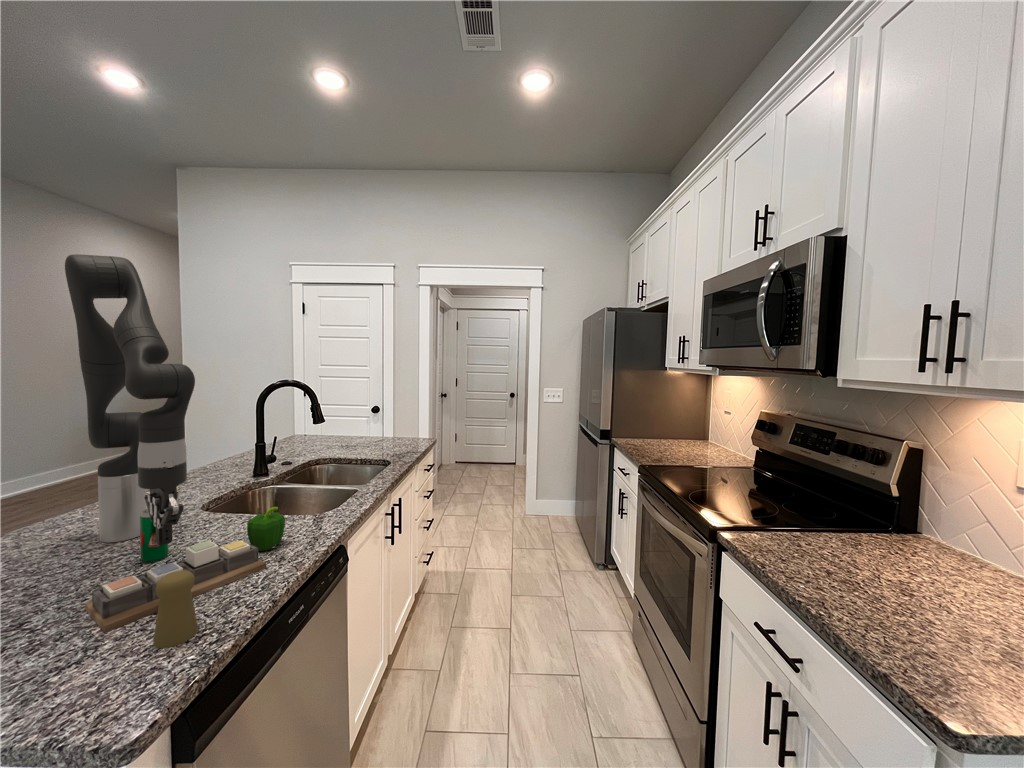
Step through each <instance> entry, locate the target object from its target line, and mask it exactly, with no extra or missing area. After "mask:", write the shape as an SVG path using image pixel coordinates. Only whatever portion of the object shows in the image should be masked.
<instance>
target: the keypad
mask: <svg viewBox="0 0 1024 768" xmlns="http://www.w3.org/2000/svg"><path fill="white" fill-rule="evenodd" d="M242 541H243V542H245V543H247V544H249V545H250V550H248V551H245V552H242V553H239V554H236V555H233V556H231V557H226V556H224V555H223V554H221V553H220V548H219V559H217V560H214V561H211V562H209V563H206V564H203V565H200V566H197V567H193V566H192V565H190V564H189V563H187V562H186V559H184V560H181V561H178V562H175V563H176V564H177V565H179V566H180V567H182V568H183V570H185V571H190V572H191V573H192V574H193V575H194V577H195V582H194V585H193V587H192V589H191V594H192V599H193V598H196V597H198V596H200V595H203V594H205V593H207V592H210V591H212V590H215V589H218V588H220V587H222V586H225V585H227V584H230V583H233V582H235V581H237V580H240V579H243V578H245V577H248V576H251V575H252V574H255V573H257V572H260V571H262V570H265V569H267V563H266V561H263V560H261V559H260V558H259V550H258V548H257V547H255V546H253V545H251V544H250V542H249V543H248V542H247V541H245V540H242ZM135 577H136V578H138V579H139V580H140V581H141V582H142V588H139V589H136V590H134V591H131V592H128V593H125V594H122V595H119V596H117V597H114V598H111V599H107V598H106V597H105V596H104V595H103V586H102V587H99V588H97V589H93V590H92V591H91V595H92V598H91V600H89V601H86V602H85V603H84V610H85V611H86V612H87V614H88V615H89V616H90V617H91V618H92V619H93V621H94V622H95V623H96V624H97V626H98V627H99V628H100V630H102V632H103V633H108V632H110V631H113V630H115V629H117V628H120V627H123V626H125V625H127V624H131V623H133V622H136V621H138V620H140V619H143V618H145V617H148V616H150V615H152V614H155V613H158V607H159V601H160V598H159V597H158V596H157V594H156V591H155V588H156V584H157V582H156V583H152V582H151V581H150V580H149V579H148V578H147V572H145V573H142V574H139V575H135Z"/></svg>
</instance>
